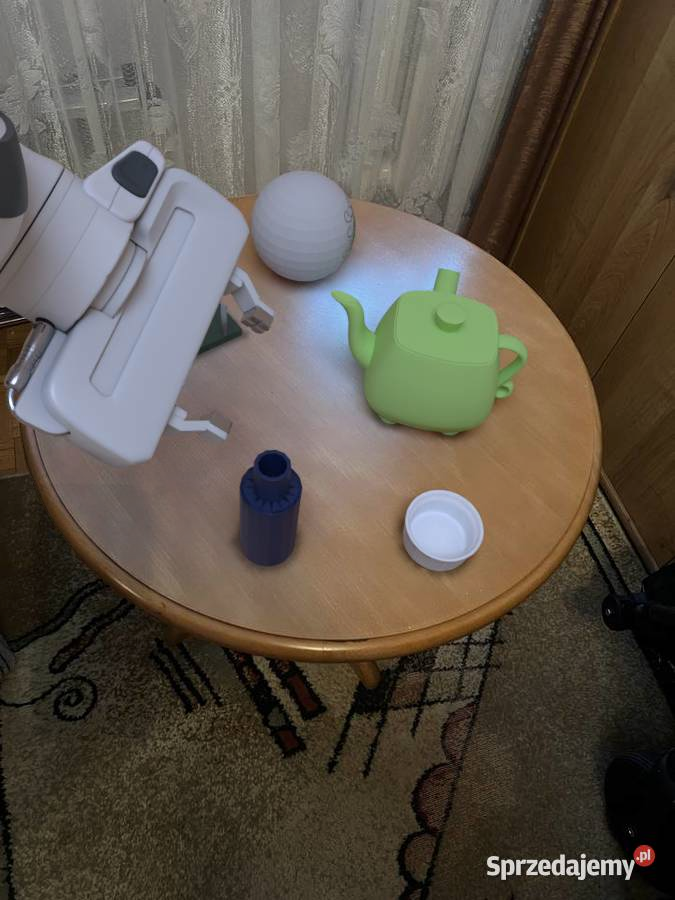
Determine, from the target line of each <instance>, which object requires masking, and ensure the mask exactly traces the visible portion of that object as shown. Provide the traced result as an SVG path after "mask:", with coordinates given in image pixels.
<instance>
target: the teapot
mask: <svg viewBox="0 0 675 900" xmlns="http://www.w3.org/2000/svg"><path fill="white" fill-rule="evenodd" d="M460 276H461V272H460V271H456V270H452V269H447V268H441V267H439V268H438V270H437V272H436V276H435V277H436V278H435V280H434V285H433V288H432V290H423V289H419V290H418V289H415V290H407V291H405V292H403V293H401V295H399V296H398V297H397V298H396V299H395V301H394V302H393V303H391V305H390V306H389V307H388V309H387V310H386V312H385V313H384V314H383V315H382V317H381V319H380V320H379V322H378V324H377V326H376V328H375V331H372V330H370V329H369V328H368V327H367V325H366V322H365V311H364V308H363V306H362V304H361V302H360V301H359V300H358V299H357V298H356V297H355V296H353V295H351V294H349V293H347V292H345V291H341V290H335V289H334V290H331V291H330V296H331V297H332V298H333V299H334V300H335V301H336V302H338V304H340V306H342V308H343V309H344V311H345V313H346V316H347V324H348V325H347V326H348V327H347V340H348V341H347V343H348V348H349V351H350V353H351V355H352V357H353V359H354V360H355V361H356V363H357V364H359V366H361V367H362V368H363V369H364V374H363V387H364V390H363V392H364V395H365V398H366V401H367V403H368V405H369V406H370V408H371V409H372V411H374V412H375V413H376V414H378V417H379V418H380V420H381V421H383V423H385V424H389V425H396V424H400V425H403V426H406V427H409V428H413V429H417V430H421V431H429V432H440V433H442V434H443V435H447V436H455V435H457V434H458V433H459V432H465V431H469V430H472V429H475V428H476V427H479V426H480V425H482V424H483V423H484V422H485V421H487V419H488V417H489V416H490V413H491V412H492V409H493V406H494V404H495V400H496V399H507V398H508V397H510V396H511V395H512V393H513V392H514V390H515V389H514V388H515V384H514V381H513V380H512V378H514V377H515V376H517V374H519V373H520V372H521V371H522V370H523V369H524V367H525V366H526V364H527V362H528V359H529V353H528V352H529V351H528V348H527V345H526V344H525V343H524V342H523V341H522V340H521V339H519V338H518V337H516V336H514V335H511V334H506V333H505V334H503V333H500V331H499V321H498V317H497V313H496V311H495V310H494V309H493V308H492V307H490V306H488V305H487V304H485V303H483V302H480V301H479V300H475V299H473V298H470V297H465V296H462V295H458V294H457V290H458V287H459V286H458V285H459V281H460ZM501 350H507V351H511V352H513V353H515V354H516V355H517V356H516V357H515V359H513V360H512V362H510V363H509V364H508V365H506V366H504V367H503V368H502V369H500V367H501Z"/></svg>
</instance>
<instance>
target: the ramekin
mask: <svg viewBox="0 0 675 900" xmlns="http://www.w3.org/2000/svg"><path fill="white" fill-rule="evenodd" d="M404 517H405V518H404V524H403V528H402V542H403V546H404V548H405V550H406V552H407V554H408V556H409V557H410V558H411V560H413V561H414V562H415V563H416V564H418V565H419V566H421V567H423V568H425V569H427V570H430V571H434V572H446V571H447V572H449V571H452V570H453V569H456V568H458V567H460V566H461V565H462V564H463V563H465V561H466V560H467V559H468V558H470V557H472V556H473V555H474V554H475V553H476V552H478V550H479V549H480V547H481V545H482V543H483V540H484V535H485V529H484V523H483V520H482V517H481V515H480V514H479V511H478V510H477V509H476V507H475V506H474V505H473V504H472V503H471V502H470V501H469V500H468V499H467V498H465V497H464V496H462V495H460V494H458V493H456V492H454V491H451V490H446V489H431V490H428V491H427V490H426V491H424V492H423V493H420V494H419V495H417V496H416V497H414V498H413V499H412V501H411V502H410V504H409V505H408V507H407V509H406V512H405V516H404Z"/></svg>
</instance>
